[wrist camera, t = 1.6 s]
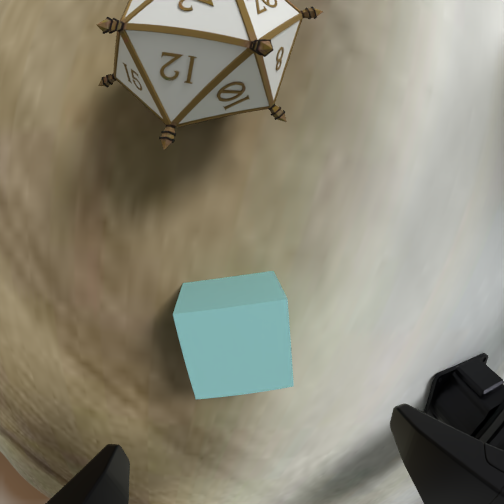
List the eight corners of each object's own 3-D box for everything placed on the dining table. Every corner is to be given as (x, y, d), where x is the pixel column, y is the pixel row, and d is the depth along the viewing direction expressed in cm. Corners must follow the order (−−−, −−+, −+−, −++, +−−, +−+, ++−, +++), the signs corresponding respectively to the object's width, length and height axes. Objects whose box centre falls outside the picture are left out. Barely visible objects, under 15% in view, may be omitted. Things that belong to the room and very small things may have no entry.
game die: (205, 60, 17) (236, -78, 8) (306, 136, 16) (392, -19, 7) (78, 119, 13) (53, -56, 4) (172, 229, 12) (192, -36, 3)
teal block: (280, 346, 18) (293, 386, 15) (199, 357, 18) (196, 399, 14) (273, 270, 17) (287, 298, 13) (183, 282, 17) (172, 314, 13)
